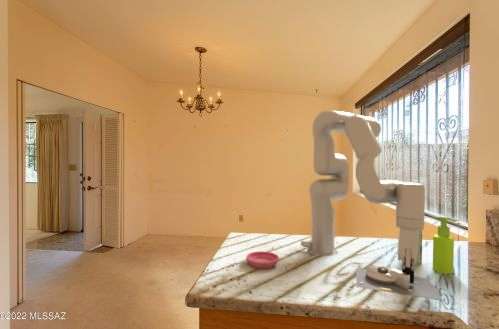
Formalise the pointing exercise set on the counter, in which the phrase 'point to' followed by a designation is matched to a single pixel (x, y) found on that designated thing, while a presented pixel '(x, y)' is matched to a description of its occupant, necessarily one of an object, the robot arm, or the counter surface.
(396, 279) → the dial
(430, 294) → the board
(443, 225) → the soap dispenser
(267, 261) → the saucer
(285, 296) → the counter surface
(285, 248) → the counter surface
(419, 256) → the spray can
